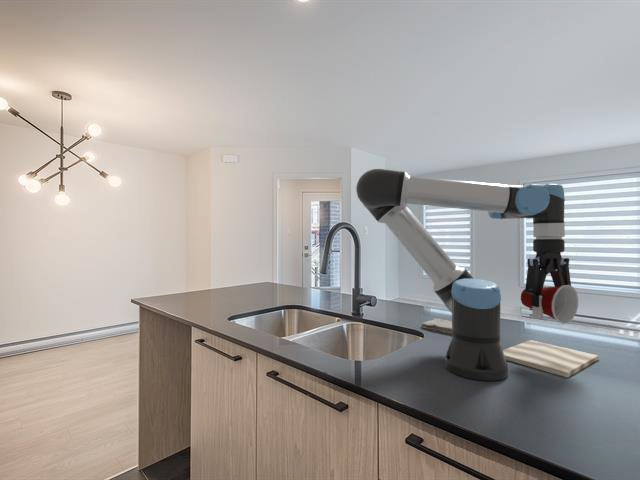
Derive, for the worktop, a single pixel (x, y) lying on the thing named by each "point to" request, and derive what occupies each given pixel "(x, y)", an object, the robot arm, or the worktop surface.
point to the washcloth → (438, 325)
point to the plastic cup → (556, 302)
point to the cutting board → (549, 357)
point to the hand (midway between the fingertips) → (548, 316)
